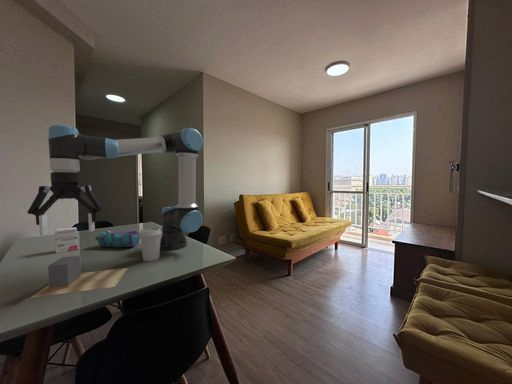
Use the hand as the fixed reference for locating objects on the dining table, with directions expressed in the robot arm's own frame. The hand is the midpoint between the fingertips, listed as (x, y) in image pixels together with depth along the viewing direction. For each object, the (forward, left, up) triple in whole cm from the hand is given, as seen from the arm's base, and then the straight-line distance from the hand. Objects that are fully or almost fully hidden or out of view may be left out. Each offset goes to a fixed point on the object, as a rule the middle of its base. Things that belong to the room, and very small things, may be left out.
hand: (68, 232), depth 72 cm
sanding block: (+1, +1, -17) cm, 17 cm away
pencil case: (-2, -46, -19) cm, 50 cm away
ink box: (+23, -47, -19) cm, 55 cm away
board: (-5, +1, -19) cm, 20 cm away
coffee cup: (-23, -16, -19) cm, 34 cm away
